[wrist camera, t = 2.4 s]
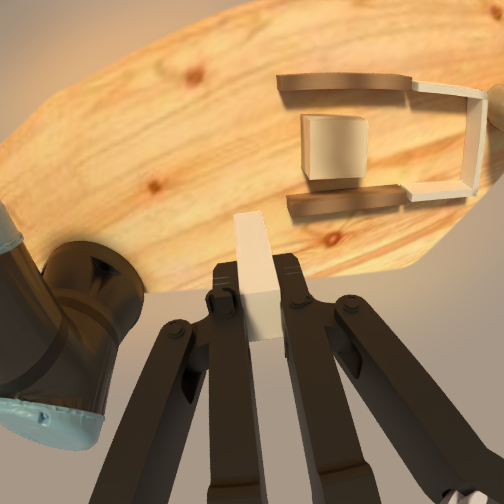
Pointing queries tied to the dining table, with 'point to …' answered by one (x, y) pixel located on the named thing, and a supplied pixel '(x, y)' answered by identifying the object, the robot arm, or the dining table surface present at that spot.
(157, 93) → the dining table surface
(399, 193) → the slot rails
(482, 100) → the corral
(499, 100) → the flower pot
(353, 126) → the beige square block
